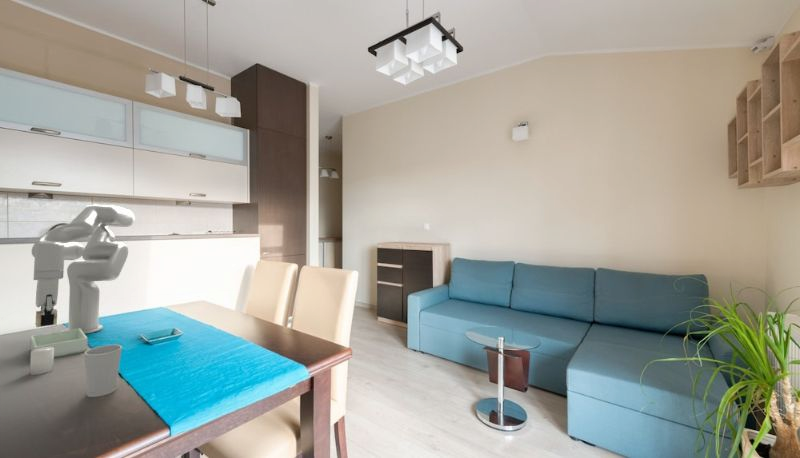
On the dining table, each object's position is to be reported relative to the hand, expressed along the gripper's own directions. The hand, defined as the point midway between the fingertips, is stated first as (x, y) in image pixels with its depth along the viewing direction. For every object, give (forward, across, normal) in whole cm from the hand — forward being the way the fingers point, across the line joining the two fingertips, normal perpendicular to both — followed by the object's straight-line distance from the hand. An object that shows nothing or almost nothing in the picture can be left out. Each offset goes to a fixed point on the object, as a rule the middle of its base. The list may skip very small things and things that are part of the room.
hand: (46, 323), depth 119 cm
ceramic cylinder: (+11, +23, -2) cm, 26 cm away
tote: (+10, +2, +3) cm, 11 cm away
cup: (+11, +54, +8) cm, 55 cm away
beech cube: (+1, 0, 0) cm, 1 cm away
